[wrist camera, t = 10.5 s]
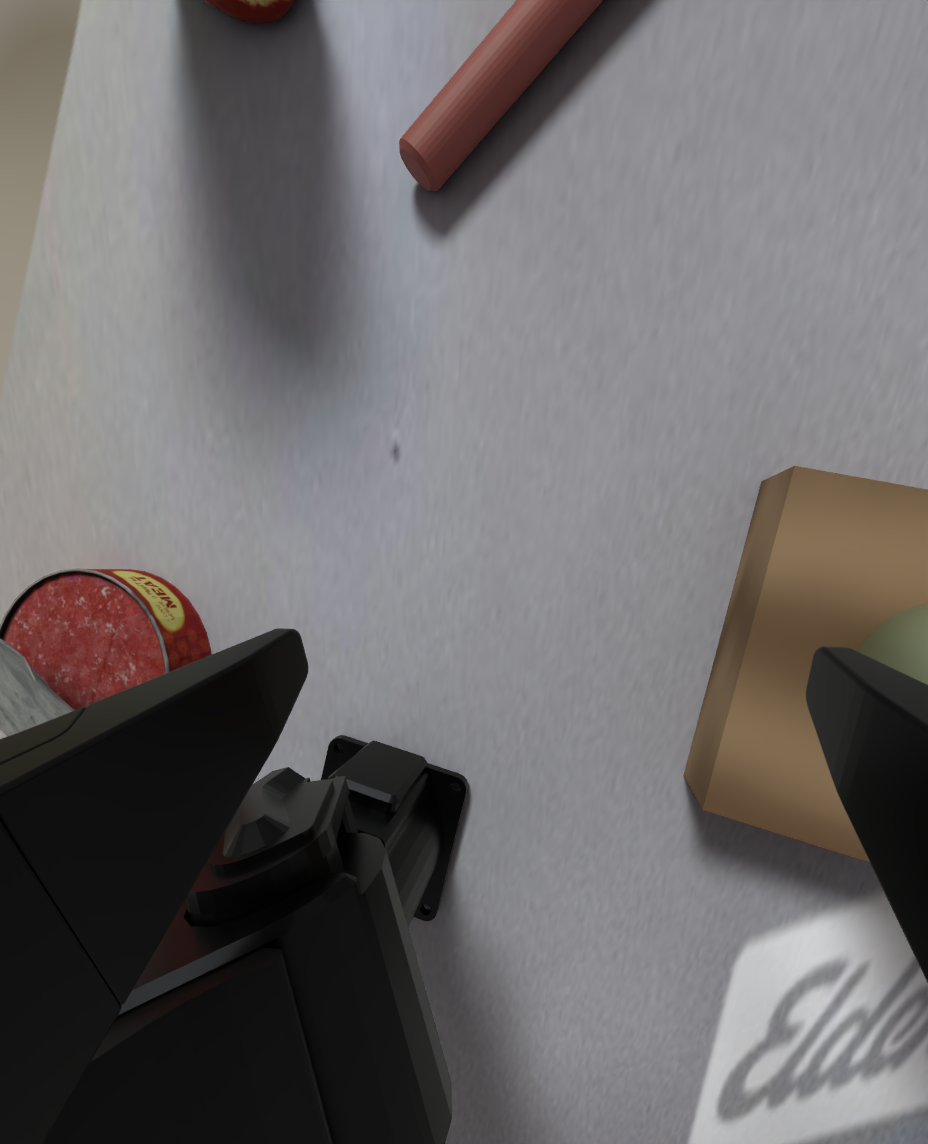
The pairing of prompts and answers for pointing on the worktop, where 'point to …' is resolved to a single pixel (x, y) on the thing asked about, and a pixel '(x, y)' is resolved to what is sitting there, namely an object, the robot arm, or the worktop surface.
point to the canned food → (90, 641)
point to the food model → (253, 9)
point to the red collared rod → (488, 85)
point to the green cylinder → (901, 643)
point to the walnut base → (801, 644)
